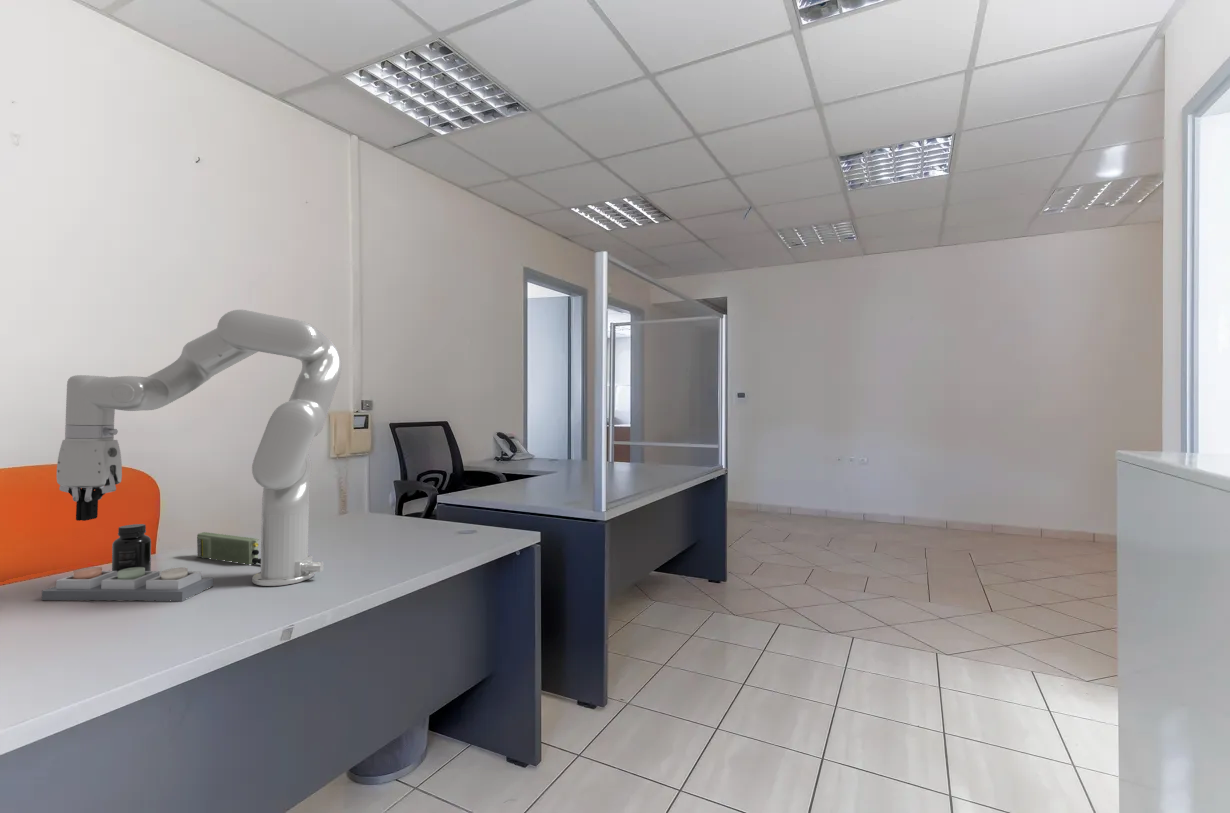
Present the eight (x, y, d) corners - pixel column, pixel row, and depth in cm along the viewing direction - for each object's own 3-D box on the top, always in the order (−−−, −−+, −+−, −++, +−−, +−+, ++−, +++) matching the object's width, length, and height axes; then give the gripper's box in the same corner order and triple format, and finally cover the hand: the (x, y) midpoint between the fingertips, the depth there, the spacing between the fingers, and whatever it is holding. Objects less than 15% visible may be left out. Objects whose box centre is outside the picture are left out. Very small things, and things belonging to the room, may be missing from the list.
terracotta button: (107, 575, 118) (107, 566, 118) (88, 581, 114) (89, 573, 114) (86, 575, 118) (86, 566, 118) (67, 581, 114) (67, 572, 114)
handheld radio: (207, 555, 147) (277, 565, 139) (195, 559, 144) (265, 569, 136) (207, 531, 147) (276, 539, 139) (194, 534, 144) (264, 543, 136)
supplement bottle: (158, 573, 130) (159, 523, 130) (130, 582, 123) (131, 529, 123) (132, 572, 131) (133, 522, 131) (103, 581, 124) (104, 528, 124)
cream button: (192, 575, 119) (192, 567, 119) (177, 582, 115) (177, 573, 115) (171, 575, 119) (172, 567, 119) (155, 582, 115) (155, 573, 115)
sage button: (150, 575, 119) (150, 567, 119) (133, 581, 114) (133, 573, 114) (129, 575, 119) (129, 567, 119) (111, 581, 114) (111, 573, 114)
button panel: (212, 586, 121) (213, 569, 121) (182, 601, 112) (182, 583, 112) (83, 586, 120) (83, 568, 120) (41, 600, 111) (42, 582, 111)
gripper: (140, 433, 120) (137, 516, 120) (70, 431, 120) (67, 515, 120) (110, 435, 113) (107, 524, 113) (35, 433, 112) (32, 522, 112)
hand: (86, 519), depth 116 cm, fingers closed
